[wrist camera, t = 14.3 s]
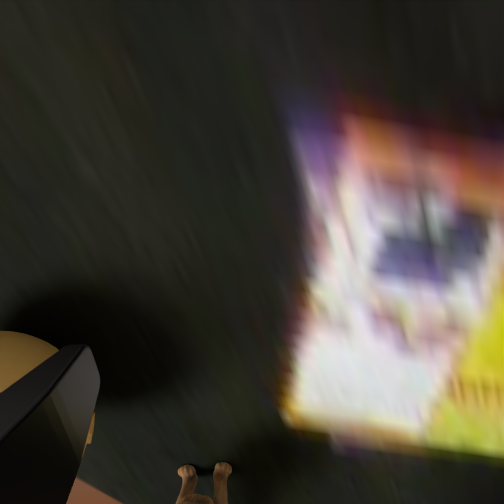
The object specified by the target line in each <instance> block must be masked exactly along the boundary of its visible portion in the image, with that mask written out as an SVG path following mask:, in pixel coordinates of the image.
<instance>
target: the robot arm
mask: <svg viewBox="0 0 504 504" xmlns="http://www.w3.org/2000/svg"><path fill="white" fill-rule="evenodd" d="M99 388H100V375H99V372H98V368H97V365H96V362H95V359H94V356H93V353H92V351H91V348H90V347H89V346H88V345H85V344H80V345H66V346H64V347H63V348H61V349H60V350H59V351H57V352H56V353H54V354H53V355H52V356H50V357H49V358H48V359H46V360H45V361H43V362H42V363H41V364H39V365H38V366H37V367H35V368H34V369H33V370H31V371H30V372H28V373H27V374H26V375H24V376H23V377H22V378H20V379H19V380H17V381H16V382H15V383H13V384H12V385H11V386H9V387H8V388H6V389H5V390H4V391H2V392H1V393H0V504H66V502H67V500H68V496H69V494H70V491H71V488H72V486H73V483H74V480H75V478H76V475H77V472H78V469H79V466H80V463H81V459H82V456H83V452H84V448H85V444H86V440H87V436H88V432H89V428H90V424H91V420H92V416H93V412H94V408H95V404H96V400H97V396H98V392H99Z"/></svg>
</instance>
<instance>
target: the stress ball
mask: <svg viewBox="0 0 504 504" xmlns="http://www.w3.org/2000/svg"><path fill="white" fill-rule="evenodd" d="M57 351H59V350H58V349H57V348H56V347H54V346H53V345H51V344H49V343H48V342H46V341H43V340H41V339H39V338H36V337H34V336H30V335H27V334H23V333H18V332H13V331H0V393H1V392H2V391H4V390H5V389H6V388H8V387H9V386H11V385H12V384H13V383H15V382H16V381H17V380H19V379H20V378H22V377H23V376H24V375H26V374H27V373H28V372H30V371H31V370H33V369H34V368H35V367H37V366H38V365H39V364H41V363H42V362H43V361H45V360H46V359H48V358H49V357H50V356H52V355H53V354H54V353H56V352H57ZM94 417H95V413H93V416H92V420H91V424H90V428H89V432H88V436H87V440H86V444H87V443H91V440H92V435H93V428H94ZM86 444H85V447H86ZM84 451H85V448H84ZM83 454H84V452H83Z"/></svg>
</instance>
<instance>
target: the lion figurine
mask: <svg viewBox="0 0 504 504" xmlns="http://www.w3.org/2000/svg"><path fill="white" fill-rule="evenodd" d="M231 472H232V467H231V466H230V465H229V464H228V463H226V462H219V463H217V464H216V466H215V471H214V472H213V478H214V498H213V500H211V498H210V497H209V496H207V495H203V496H202V495H199V494H193V492H194V490H195V487H196V484H197V480H198V478H197V475H196V470H195V468H194V467H193V466H192V465H188V464H187V465H184V466H182V467H181V468H179V469H178V474H179V475H180V476H181V477H182V478H183V485H182V489H181V493H180V495H179V497H178V499H177V502H176V504H228V501H227V477H228V475H230V474H231Z"/></svg>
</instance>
